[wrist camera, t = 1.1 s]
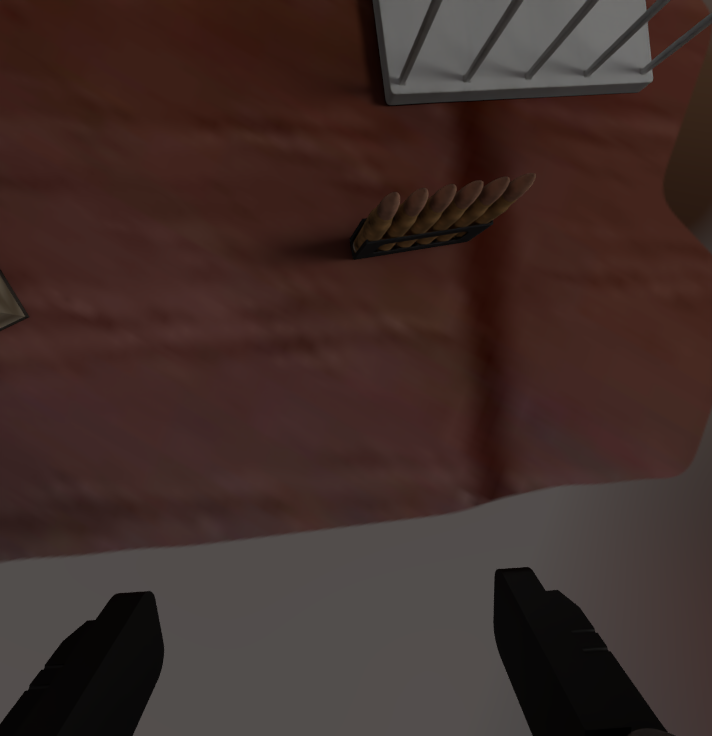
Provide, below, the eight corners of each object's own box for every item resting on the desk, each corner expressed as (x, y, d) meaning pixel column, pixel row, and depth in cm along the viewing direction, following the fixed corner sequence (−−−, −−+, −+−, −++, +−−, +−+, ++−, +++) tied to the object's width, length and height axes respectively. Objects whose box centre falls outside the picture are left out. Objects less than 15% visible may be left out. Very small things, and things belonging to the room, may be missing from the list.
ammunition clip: (465, 220, 38) (546, 157, 26) (469, 241, 38) (551, 188, 26) (349, 238, 36) (378, 180, 24) (353, 260, 36) (384, 212, 24)
